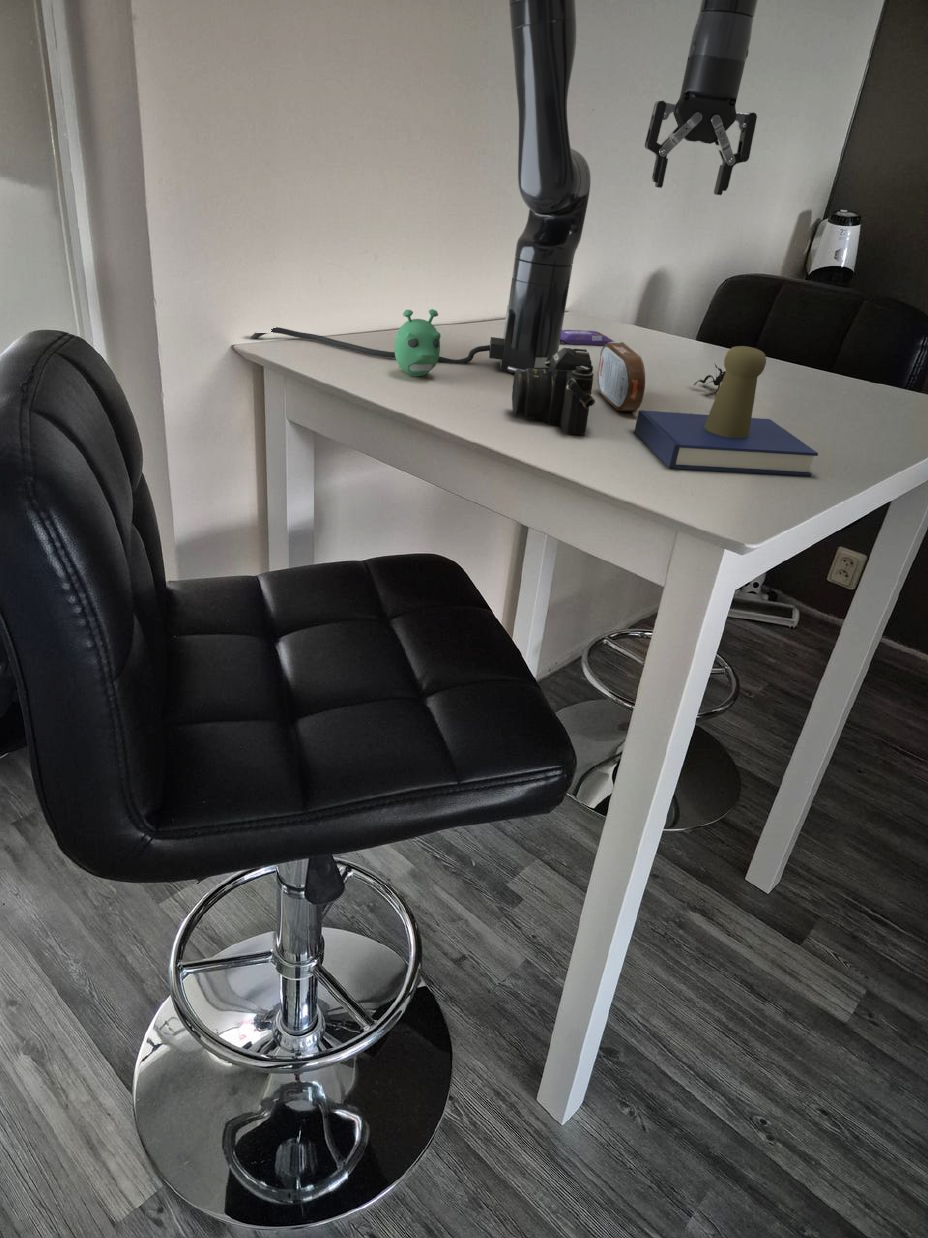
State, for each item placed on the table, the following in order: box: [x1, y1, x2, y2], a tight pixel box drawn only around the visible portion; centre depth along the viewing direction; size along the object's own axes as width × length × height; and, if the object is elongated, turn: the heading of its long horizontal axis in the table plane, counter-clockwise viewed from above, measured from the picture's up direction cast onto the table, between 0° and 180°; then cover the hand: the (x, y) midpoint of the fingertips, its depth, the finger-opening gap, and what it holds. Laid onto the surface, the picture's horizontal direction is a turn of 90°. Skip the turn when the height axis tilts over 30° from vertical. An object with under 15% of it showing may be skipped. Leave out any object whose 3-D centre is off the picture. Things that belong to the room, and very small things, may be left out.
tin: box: [597, 341, 646, 413], centre depth 134 cm, size 15×3×8 cm, turn 9°
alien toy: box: [394, 308, 442, 377], centre depth 134 cm, size 7×8×10 cm
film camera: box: [511, 347, 596, 436], centre depth 123 cm, size 18×12×10 cm
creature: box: [693, 362, 726, 397], centre depth 148 cm, size 8×5×8 cm
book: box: [633, 409, 819, 477], centre depth 119 cm, size 20×14×3 cm
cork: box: [704, 345, 767, 438], centre depth 116 cm, size 6×6×11 cm
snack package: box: [560, 329, 616, 346], centre depth 171 cm, size 12×2×5 cm
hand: (687, 190), depth 125 cm, fingers open, 8 cm apart
